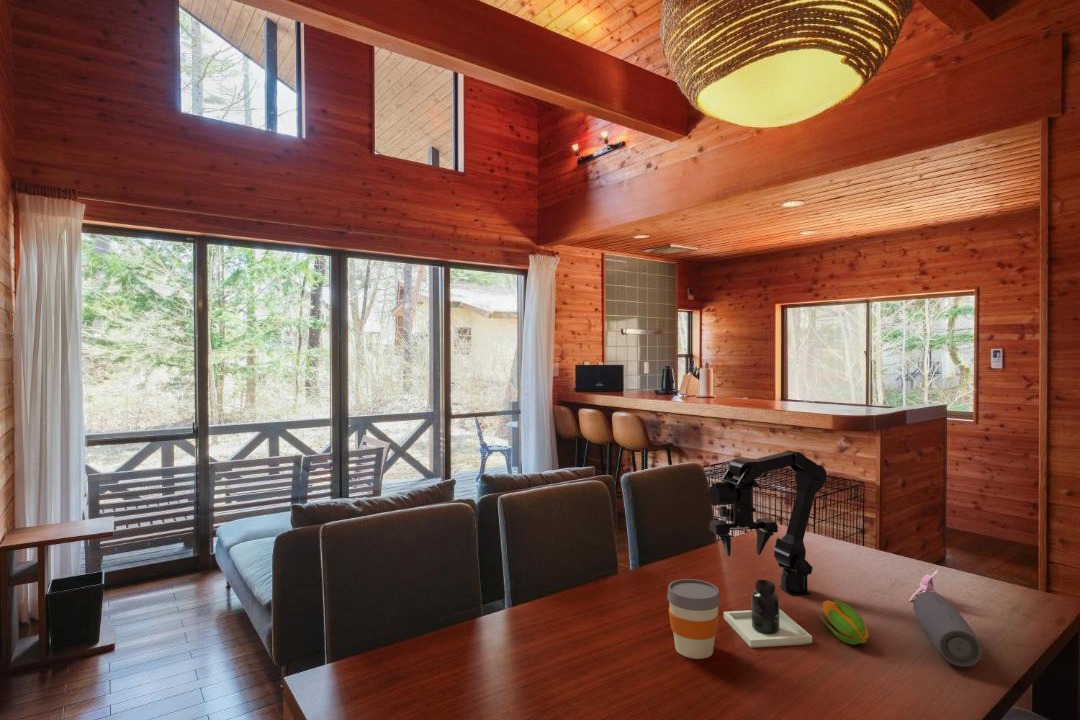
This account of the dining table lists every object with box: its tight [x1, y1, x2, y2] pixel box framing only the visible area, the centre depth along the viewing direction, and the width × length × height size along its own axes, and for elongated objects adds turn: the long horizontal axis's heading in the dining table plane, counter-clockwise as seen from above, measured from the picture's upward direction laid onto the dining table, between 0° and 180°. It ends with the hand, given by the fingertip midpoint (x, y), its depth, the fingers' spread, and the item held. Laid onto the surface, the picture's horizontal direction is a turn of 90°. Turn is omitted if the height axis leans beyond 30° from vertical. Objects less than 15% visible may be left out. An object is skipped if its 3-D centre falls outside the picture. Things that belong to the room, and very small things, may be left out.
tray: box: [723, 608, 813, 649], centre depth 151 cm, size 16×16×2 cm
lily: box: [909, 568, 939, 601], centre depth 167 cm, size 12×12×10 cm
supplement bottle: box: [750, 579, 780, 634], centre depth 151 cm, size 7×7×12 cm
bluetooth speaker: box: [912, 591, 983, 667], centre depth 140 cm, size 23×9×10 cm, turn 160°
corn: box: [819, 598, 870, 646], centre depth 149 cm, size 7×8×20 cm
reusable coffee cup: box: [666, 578, 721, 660], centre depth 141 cm, size 13×13×15 cm
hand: (743, 555), depth 170 cm, fingers open, 9 cm apart
